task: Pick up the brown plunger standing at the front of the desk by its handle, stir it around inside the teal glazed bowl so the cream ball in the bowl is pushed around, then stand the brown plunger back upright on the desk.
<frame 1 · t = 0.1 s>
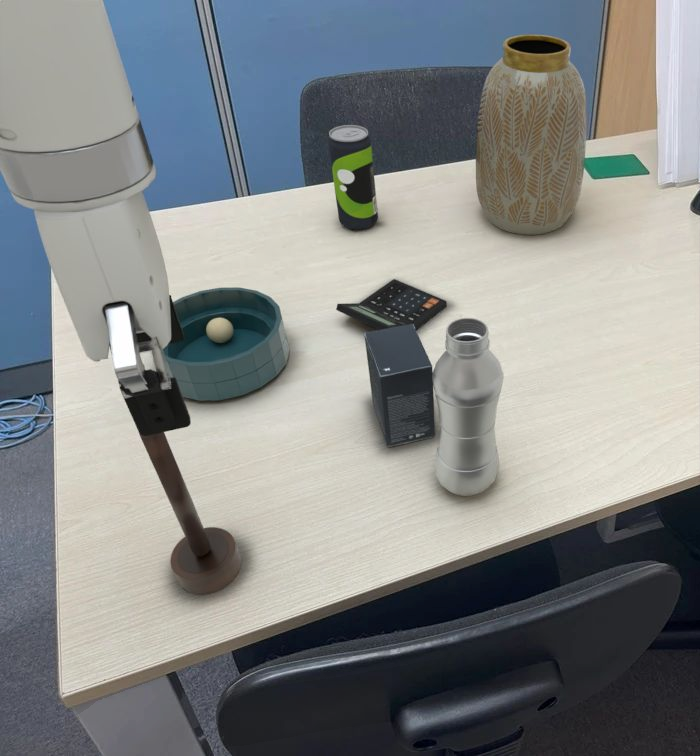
hand: (164, 383, 51), 23 cm above the table, tool pointing down, fingers open, 9 cm apart
ball: (219, 330, 88), point 2 cm above the table, touching bowl
box: (403, 420, 81), on the table
plastic bottle: (467, 481, 74), on the table
calculator: (393, 315, 96), on the table
brown plunger: (209, 567, 65), on the table
beverage can: (359, 224, 114), on the table
bowl: (226, 362, 87), on the table
vase: (526, 216, 118), on the table
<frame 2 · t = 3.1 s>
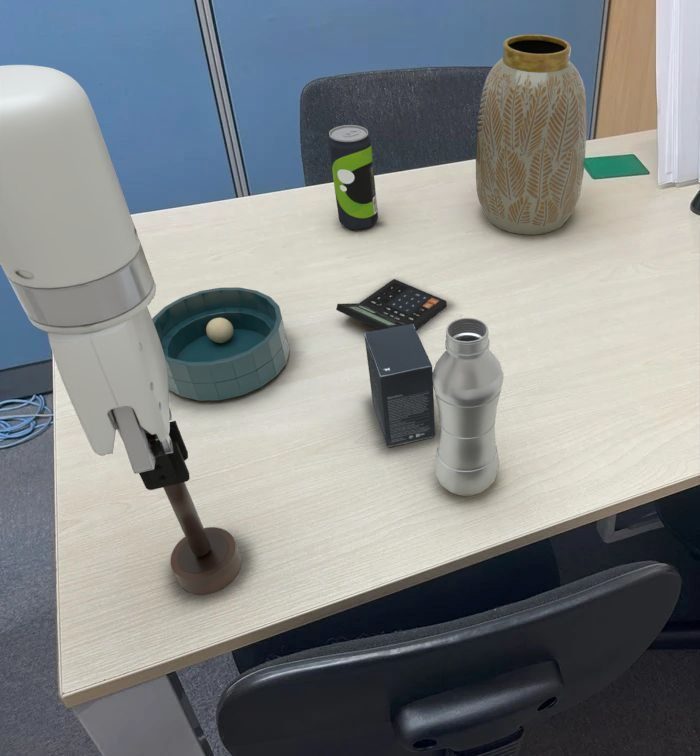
hand: (168, 471, 56), 14 cm above the table, tool pointing down, fingers closed on brown plunger
brown plunger: (210, 567, 65), on the table, touching gripper
everything else where it was.
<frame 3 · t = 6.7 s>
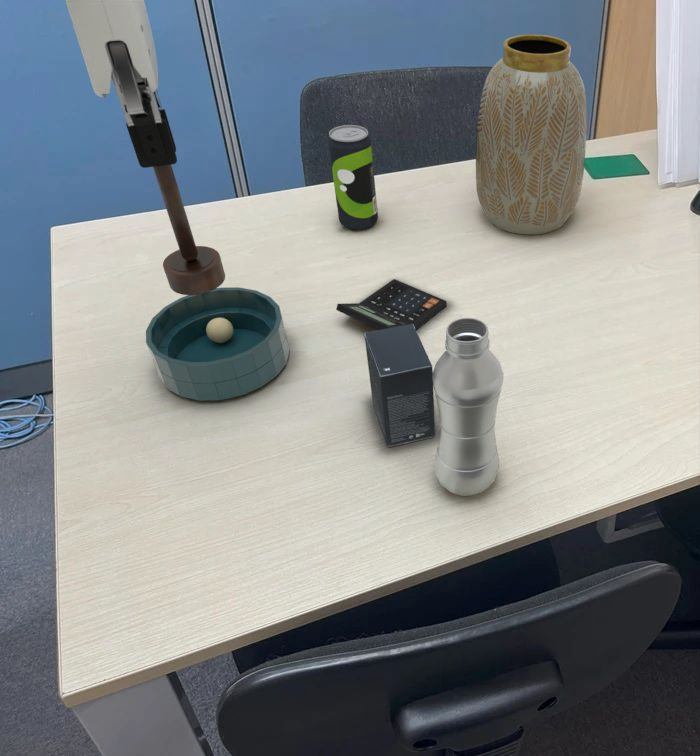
hand: (158, 158, 66), 28 cm above the table, tool pointing down, fingers closed on brown plunger
brown plunger: (197, 280, 75), point 15 cm above the table, touching gripper
everything else where it was.
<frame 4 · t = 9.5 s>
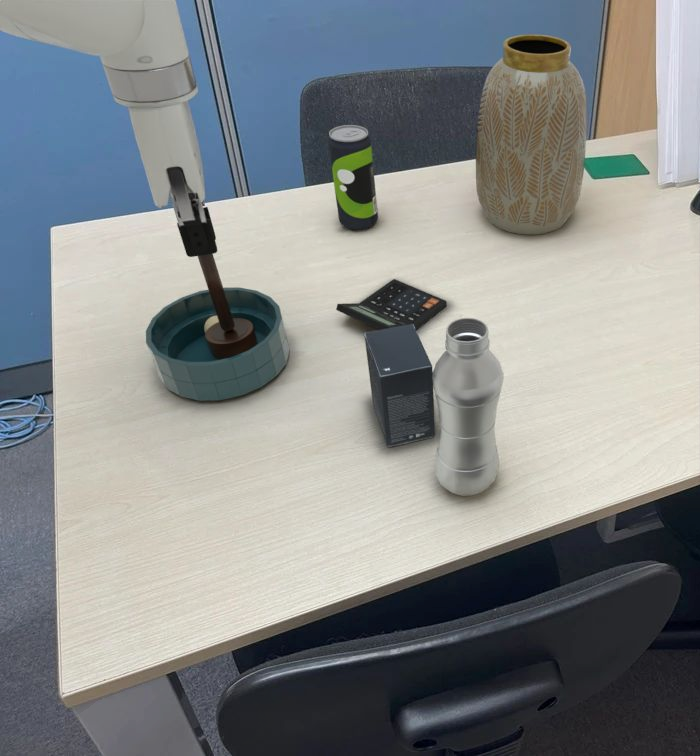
hand: (201, 246, 78), 15 cm above the table, tool pointing down, fingers closed on brown plunger
ball: (217, 328, 89), point 2 cm above the table, tilted 20°, touching bowl, brown plunger
brown plunger: (234, 347, 87), point 2 cm above the table, touching ball, gripper
everything else where it was.
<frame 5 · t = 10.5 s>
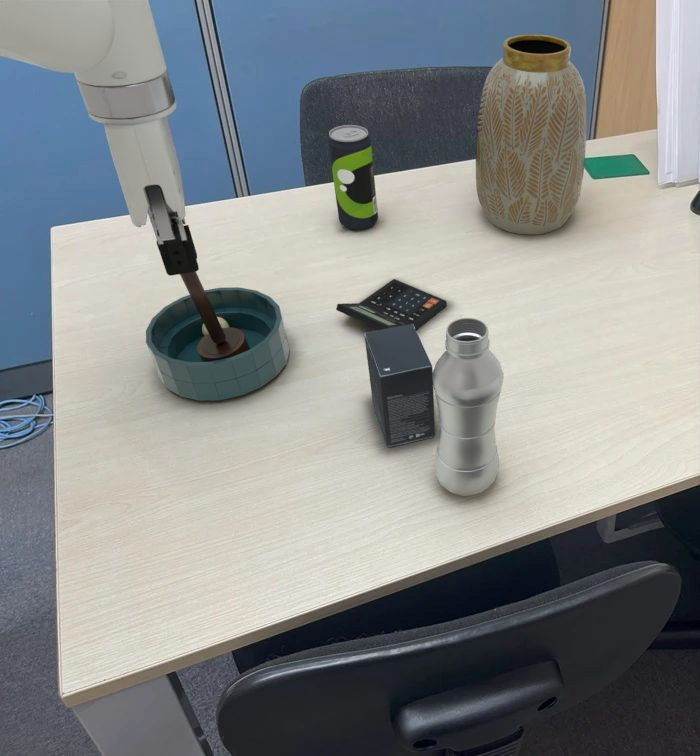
hand: (182, 265, 76), 15 cm above the table, tool pointing down, fingers closed on brown plunger
ball: (215, 329, 89), point 2 cm above the table, tilted 16°, touching bowl
brown plunger: (228, 357, 85), point 2 cm above the table, tilted 7°, touching gripper
everything else where it was.
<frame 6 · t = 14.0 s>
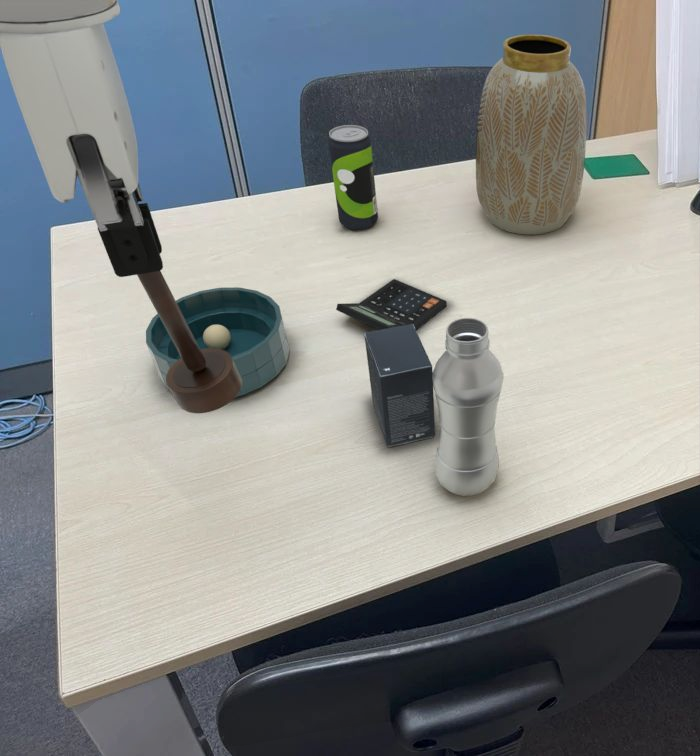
hand: (140, 262, 52), 28 cm above the table, tool pointing down, fingers closed on brown plunger
ball: (217, 337, 87), point 2 cm above the table, tilted 51°, touching bowl
brown plunger: (210, 390, 62), point 15 cm above the table, tilted 7°, touching gripper
everything else where it was.
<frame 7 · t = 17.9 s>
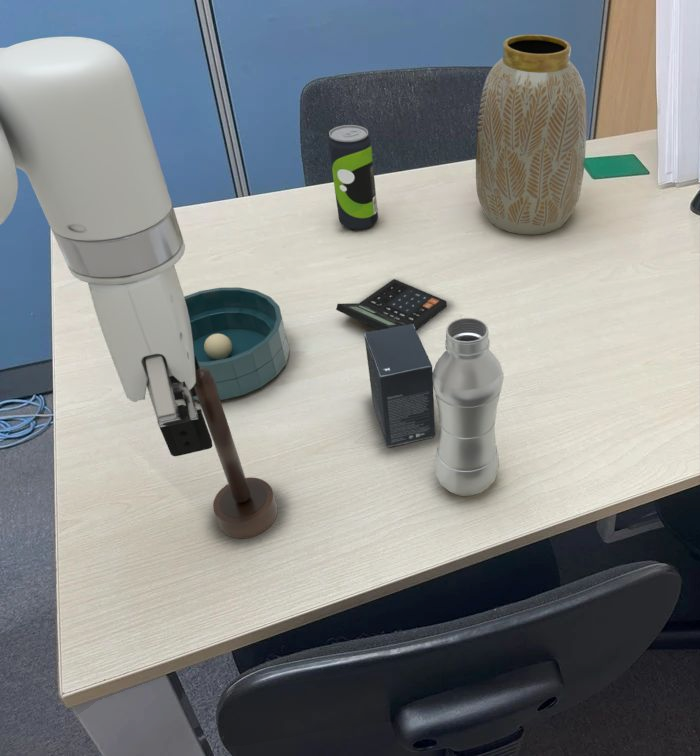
hand: (190, 420, 60), 14 cm above the table, tool pointing down, fingers open, 6 cm apart
ball: (218, 346, 86), point 2 cm above the table, tilted 119°, touching bowl
brown plunger: (248, 515, 70), on the table
everything else where it was.
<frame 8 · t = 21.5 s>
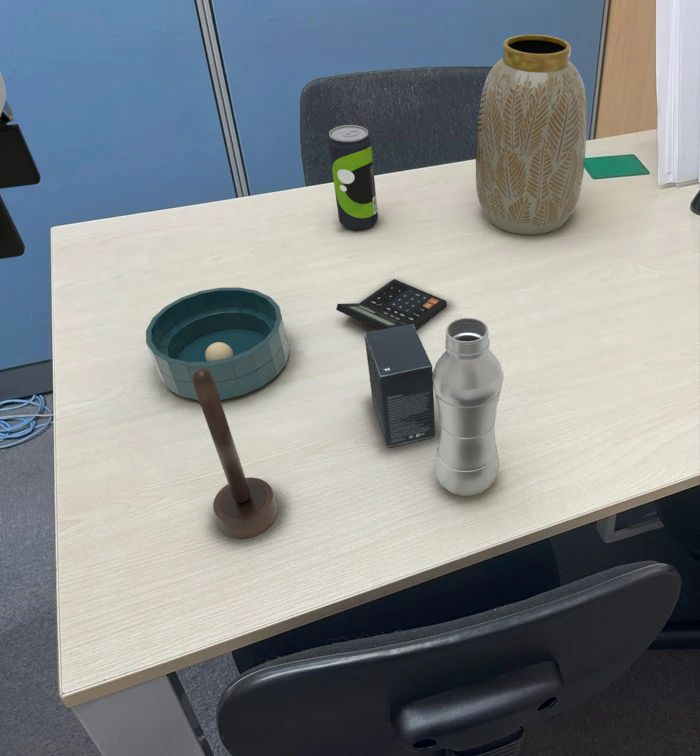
hand: (6, 218, 45), 34 cm above the table, tool pointing down, fingers open, 9 cm apart
ball: (219, 355, 85), point 2 cm above the table, tilted 169°, touching bowl
everything else where it was.
at the end: ball moved 5.1 cm from its start; ball inside the target area in the bowl (1.4 cm from its centre), point 2.2 cm above the bowl's base; brown plunger tilted 0° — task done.
